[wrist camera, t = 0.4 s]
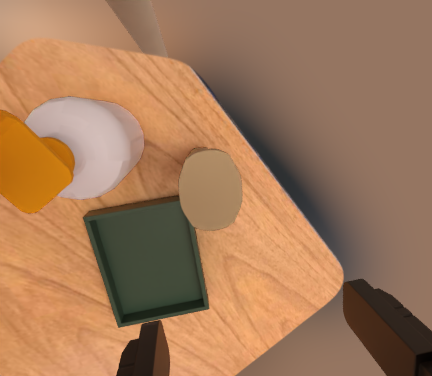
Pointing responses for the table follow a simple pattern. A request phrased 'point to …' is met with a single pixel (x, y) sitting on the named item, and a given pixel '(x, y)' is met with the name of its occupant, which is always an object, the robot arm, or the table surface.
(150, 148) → the table surface
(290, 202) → the table surface
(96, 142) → the soap bottle
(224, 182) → the handle
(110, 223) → the brush tray
